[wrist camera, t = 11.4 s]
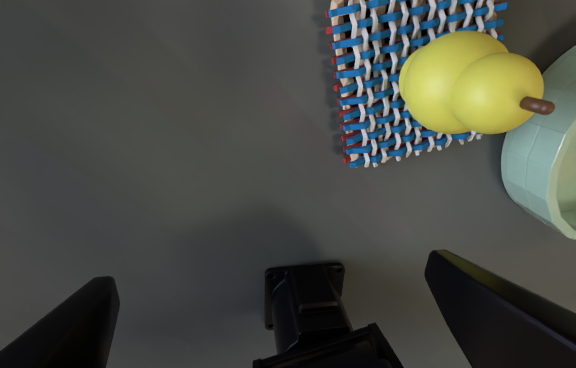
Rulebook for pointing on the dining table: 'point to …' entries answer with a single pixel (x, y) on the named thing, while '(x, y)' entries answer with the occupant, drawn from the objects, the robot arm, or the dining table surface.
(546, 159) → the pan
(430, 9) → the woven mat
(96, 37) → the dining table surface
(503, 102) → the pear
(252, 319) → the dining table surface
